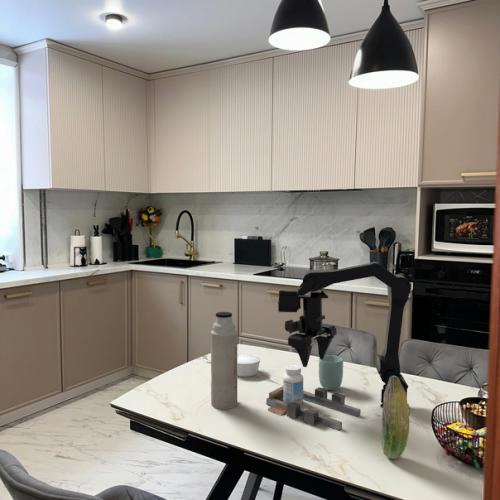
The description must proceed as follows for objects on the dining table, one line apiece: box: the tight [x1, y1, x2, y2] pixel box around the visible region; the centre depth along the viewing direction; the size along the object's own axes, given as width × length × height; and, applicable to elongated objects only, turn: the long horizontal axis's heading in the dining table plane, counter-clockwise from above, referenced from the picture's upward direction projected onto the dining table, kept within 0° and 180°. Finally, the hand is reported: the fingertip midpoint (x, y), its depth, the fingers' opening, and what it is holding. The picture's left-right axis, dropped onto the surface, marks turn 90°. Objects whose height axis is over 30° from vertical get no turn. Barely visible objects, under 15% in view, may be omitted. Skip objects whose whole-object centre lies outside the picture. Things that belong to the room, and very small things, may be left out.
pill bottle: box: [282, 364, 304, 406], centre depth 138 cm, size 6×6×11 cm
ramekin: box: [237, 353, 261, 378], centre depth 165 cm, size 11×11×5 cm
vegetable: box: [381, 376, 410, 460], centre depth 107 cm, size 6×6×20 cm
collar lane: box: [265, 385, 362, 431], centre depth 134 cm, size 25×18×4 cm
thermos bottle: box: [210, 311, 238, 410], centre depth 137 cm, size 8×8×28 cm
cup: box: [318, 354, 344, 391], centre depth 150 cm, size 8×8×10 cm
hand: (313, 362), depth 138 cm, fingers open, 9 cm apart
